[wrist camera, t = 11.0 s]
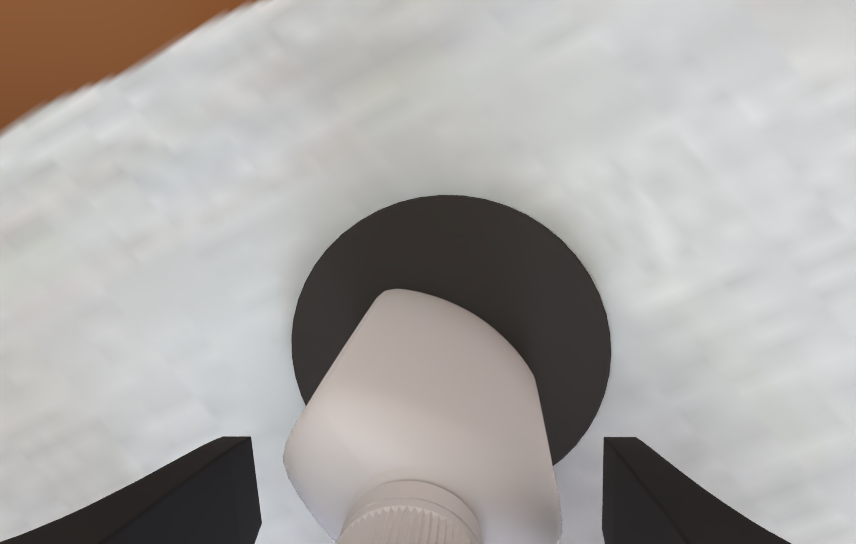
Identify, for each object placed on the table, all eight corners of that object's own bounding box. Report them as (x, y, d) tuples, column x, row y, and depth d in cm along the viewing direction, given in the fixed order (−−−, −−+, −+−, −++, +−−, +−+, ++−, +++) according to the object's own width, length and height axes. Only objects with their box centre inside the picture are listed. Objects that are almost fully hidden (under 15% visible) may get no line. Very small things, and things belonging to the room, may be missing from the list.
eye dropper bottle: (428, 457, 19) (342, 950, 8) (340, 310, 18) (92, 616, 7) (550, 401, 18) (662, 861, 7) (464, 245, 18) (424, 464, 6)
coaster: (310, 488, 21) (306, 497, 20) (280, 201, 18) (275, 203, 18) (604, 492, 19) (608, 501, 19) (611, 188, 17) (615, 189, 17)
